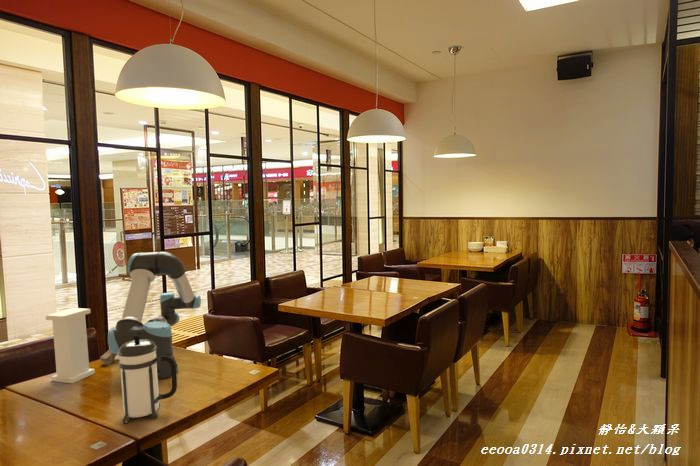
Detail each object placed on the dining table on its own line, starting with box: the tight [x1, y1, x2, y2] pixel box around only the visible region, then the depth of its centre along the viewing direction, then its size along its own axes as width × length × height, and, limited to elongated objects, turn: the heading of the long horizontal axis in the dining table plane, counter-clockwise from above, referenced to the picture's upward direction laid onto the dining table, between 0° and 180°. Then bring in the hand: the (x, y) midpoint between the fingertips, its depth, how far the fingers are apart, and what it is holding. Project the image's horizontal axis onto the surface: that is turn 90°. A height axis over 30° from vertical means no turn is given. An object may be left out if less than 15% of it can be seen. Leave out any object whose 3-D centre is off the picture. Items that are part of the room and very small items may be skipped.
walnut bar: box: [99, 348, 117, 366], centre depth 233 cm, size 24×4×4 cm, turn 162°
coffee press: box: [114, 335, 178, 424], centre depth 168 cm, size 17×16×30 cm
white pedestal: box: [45, 307, 96, 384], centre depth 207 cm, size 14×12×30 cm
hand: (123, 336), depth 234 cm, fingers closed on walnut bar, 4 cm apart
